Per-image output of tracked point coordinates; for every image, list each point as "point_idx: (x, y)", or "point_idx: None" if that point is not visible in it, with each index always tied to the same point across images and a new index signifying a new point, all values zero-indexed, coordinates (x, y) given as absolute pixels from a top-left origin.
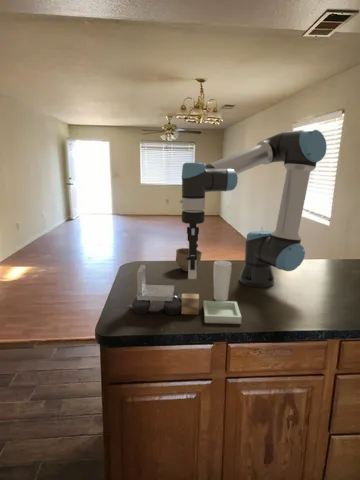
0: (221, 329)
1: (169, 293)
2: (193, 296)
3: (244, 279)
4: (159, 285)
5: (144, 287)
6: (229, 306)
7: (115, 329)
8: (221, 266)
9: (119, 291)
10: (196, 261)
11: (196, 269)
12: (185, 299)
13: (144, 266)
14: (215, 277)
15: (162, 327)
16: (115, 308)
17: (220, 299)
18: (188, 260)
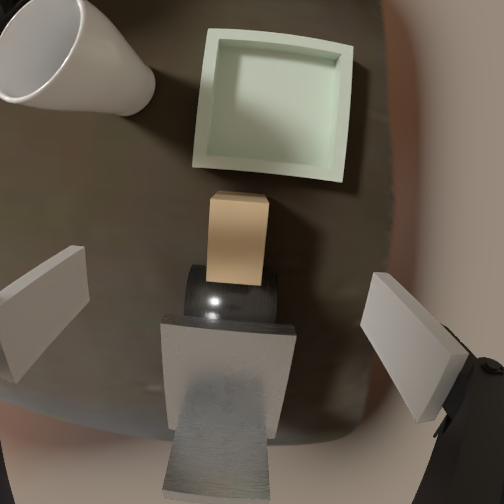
0: (380, 131)
1: (259, 347)
2: (242, 228)
3: (12, 11)
4: (167, 379)
5: (206, 426)
6: (218, 61)
7: (336, 419)
8: (82, 44)
9: (110, 423)
10: (457, 345)
11: (421, 306)
12: (262, 266)
13: (187, 493)
14: (97, 98)
15: (348, 321)
16: None
17: (152, 89)
18: (431, 413)
